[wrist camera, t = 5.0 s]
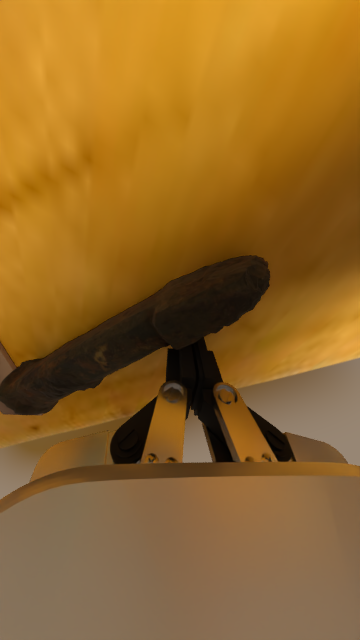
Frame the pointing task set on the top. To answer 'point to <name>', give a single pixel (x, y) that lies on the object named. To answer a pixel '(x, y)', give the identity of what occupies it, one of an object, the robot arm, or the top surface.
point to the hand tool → (140, 333)
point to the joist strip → (4, 366)
